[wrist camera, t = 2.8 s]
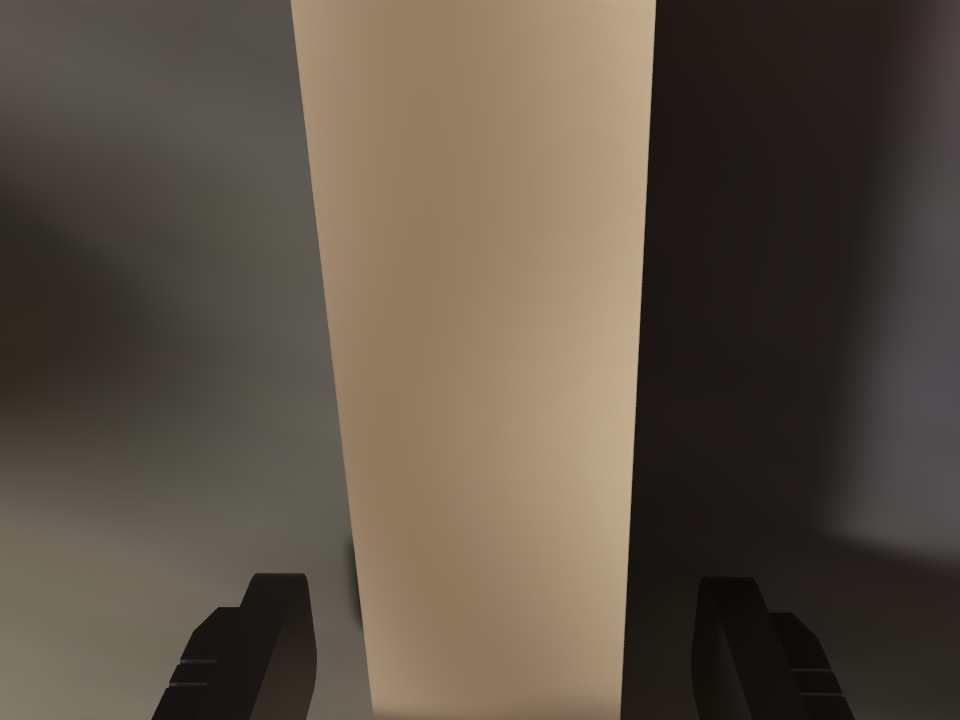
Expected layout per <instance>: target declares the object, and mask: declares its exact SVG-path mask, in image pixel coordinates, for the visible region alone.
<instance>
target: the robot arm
mask: <svg viewBox="0 0 960 720" xmlns="http://www.w3.org/2000/svg"><path fill="white" fill-rule="evenodd" d="M316 668H317V651H316V642H315V634H314V627H313V619H312V611H311V603H310V596H309V588H308V582H307V578H306V576H305V574H303V573H256V574H255V575H254V576H253V577H252V579H251V581H250V584H249V586H248V589H247V591H246V593H245V596H244V598H243V600H242V603H241V605H240V607H218V608H217V609H216V610H215V611H214V612H213V613H212V614H211V615H210V616H209V617H208V618H207V619H206V620H205V621H204V622H203V623H202V624H201V625H199V626H198V627H197V628H196V629H195V630H194V631H193V633H192V635H191V637H190V640H189V642H188V644H187V646H186V648H185V650H184V652H183V654H182V656H181V658H180V665H177V667H176V669H175V671H174V673H173V675H172V677H171V679H170V682H169V688H166V690H165V692H164V694H163V696H162V698H161V700H160V702H159V705H158V707H157V709H156V711H155V713H154V715H153V717H152V719H151V720H306V717H307V713H308V710H309V706H310V702H311V699H312V695H313V691H314V686H315V679H316ZM691 668H692V682H693V690H694V696H695V700H696V704H697V708H698V712H699V716H700V720H855V719H854V717H853V714H852V712H851V710H850V708H849V706H848V704H847V701H846V699H845V697H842V690H841V688H840V686H839V684H838V682H837V679H836V677H835V675H834V673H831V666H830V664H829V662H828V660H827V658H826V655H825V653H824V651H823V649H822V647H821V645H820V642H819V640H818V638H817V637H816V636H815V635H814V634H813V633H812V632H811V631H810V630H809V629H808V628H807V627H806V626H805V625H804V624H803V623H802V622H801V621H800V620H799V619H798V618H797V617H796V616H795V615H794V614H793V613H768V610H767V608H766V605H765V603H764V600H763V598H762V595H761V593H760V590H759V588H758V585H757V583H756V581H755V580H754V579H753V578H752V577H703V578H702V579H701V581H700V585H699V593H698V602H697V611H696V620H695V629H694V638H693V646H692V658H691Z"/></svg>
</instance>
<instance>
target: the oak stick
mask: <svg viewBox="0 0 960 720" xmlns="http://www.w3.org/2000/svg"><path fill="white" fill-rule="evenodd" d="M291 6H292V15H293V23H294V32H295V41H296V49H297V58H298V66H299V75H300V84H301V92H302V101H303V110H304V118H305V127H306V136H307V144H308V153H309V162H310V170H311V179H312V188H313V196H314V205H315V214H316V222H317V231H318V240H319V248H320V257H321V266H322V274H323V283H324V292H325V300H326V309H327V317H328V326H329V335H330V343H331V352H332V361H333V369H334V378H335V387H336V395H337V404H338V413H339V421H340V430H341V439H342V447H343V456H344V465H345V473H346V482H347V491H348V499H349V508H350V517H351V525H352V534H353V543H354V551H355V560H356V568H357V577H358V586H359V594H360V603H361V612H362V620H363V629H364V638H365V646H366V655H367V664H368V672H369V681H370V690H371V698H372V707H373V716H374V720H620V711H621V691H622V671H623V651H624V631H625V611H626V591H627V571H628V551H629V531H630V511H631V491H632V471H633V451H634V431H635V411H636V391H637V371H638V351H639V331H640V311H641V291H642V271H643V251H644V231H645V211H646V191H647V171H648V151H649V131H650V111H651V91H652V71H653V51H654V31H655V11H656V0H291Z"/></svg>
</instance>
